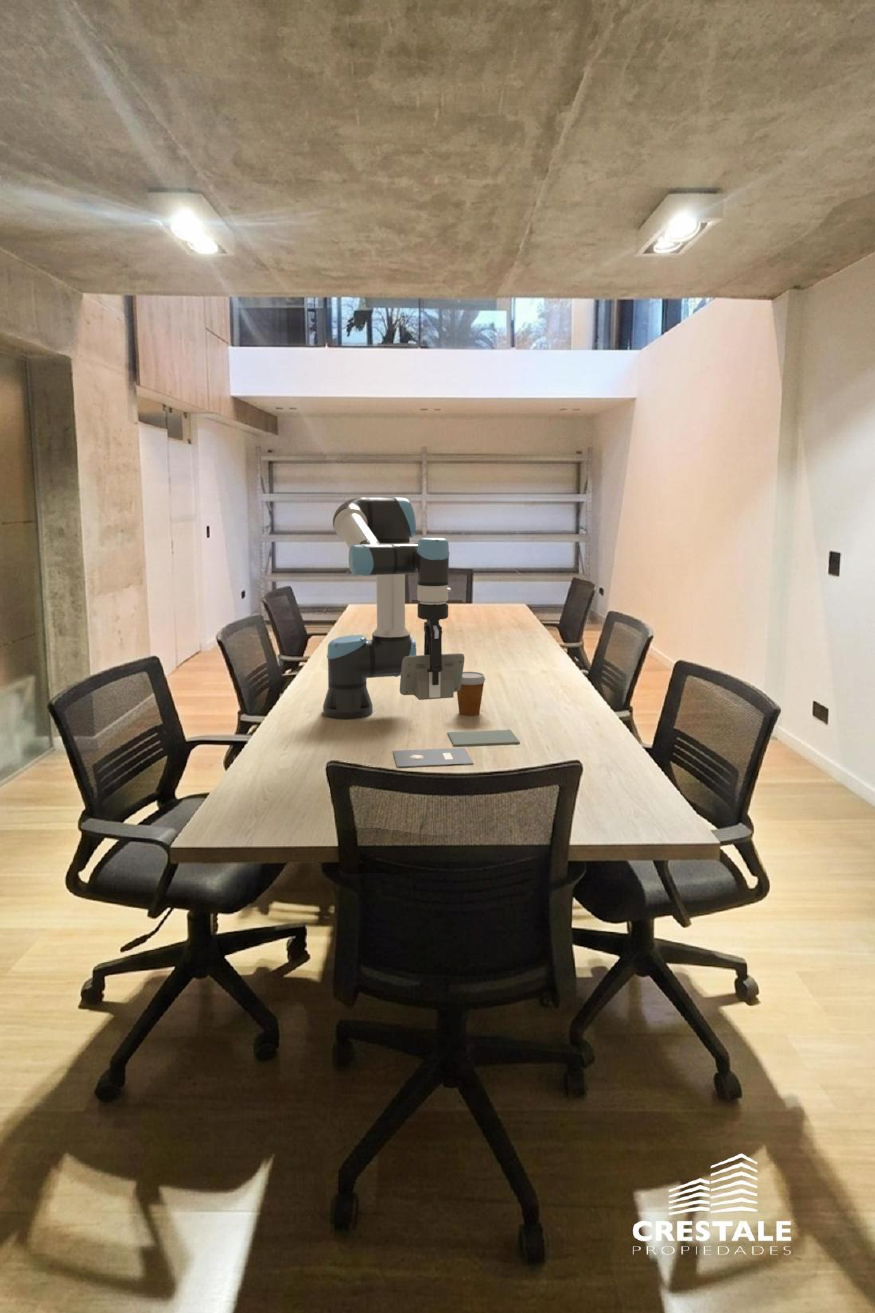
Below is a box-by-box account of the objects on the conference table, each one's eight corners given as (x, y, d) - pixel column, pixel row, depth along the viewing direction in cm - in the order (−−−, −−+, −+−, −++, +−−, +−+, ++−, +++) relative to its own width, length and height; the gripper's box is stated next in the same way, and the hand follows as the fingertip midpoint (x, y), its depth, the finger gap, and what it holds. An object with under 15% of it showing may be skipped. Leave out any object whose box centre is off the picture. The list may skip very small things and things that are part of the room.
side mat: (453, 746, 205) (453, 744, 204) (447, 733, 215) (447, 732, 215) (519, 743, 207) (519, 741, 207) (510, 731, 218) (510, 729, 218)
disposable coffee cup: (482, 717, 231) (483, 679, 229) (451, 716, 233) (451, 677, 230) (486, 709, 240) (487, 672, 238) (456, 707, 242) (457, 670, 240)
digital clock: (462, 690, 197) (462, 649, 195) (466, 699, 189) (466, 657, 186) (399, 691, 196) (398, 650, 194) (400, 700, 187) (400, 658, 185)
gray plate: (397, 767, 188) (397, 766, 188) (392, 751, 200) (392, 750, 200) (473, 764, 191) (473, 763, 191) (464, 748, 202) (464, 747, 202)
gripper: (454, 607, 178) (453, 703, 183) (442, 596, 198) (441, 682, 202) (422, 608, 177) (422, 704, 182) (413, 596, 197) (413, 683, 201)
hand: (432, 692), depth 192 cm, fingers closed on digital clock, 7 cm apart
